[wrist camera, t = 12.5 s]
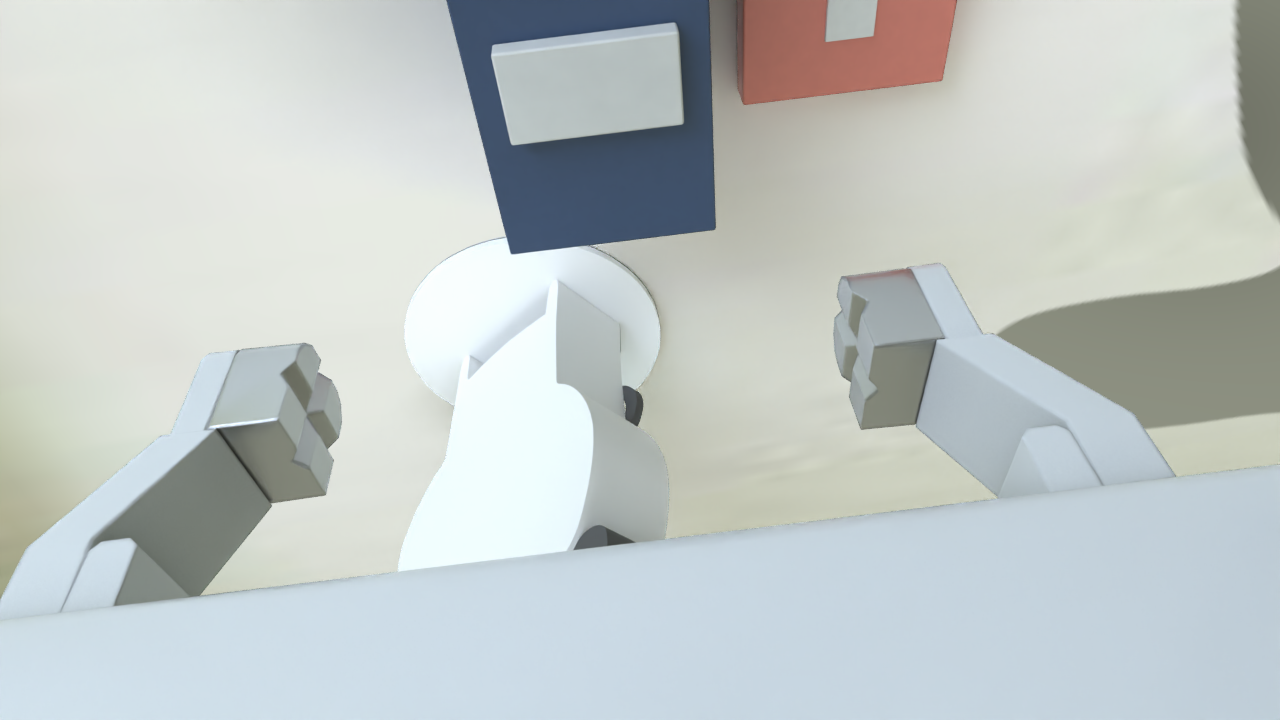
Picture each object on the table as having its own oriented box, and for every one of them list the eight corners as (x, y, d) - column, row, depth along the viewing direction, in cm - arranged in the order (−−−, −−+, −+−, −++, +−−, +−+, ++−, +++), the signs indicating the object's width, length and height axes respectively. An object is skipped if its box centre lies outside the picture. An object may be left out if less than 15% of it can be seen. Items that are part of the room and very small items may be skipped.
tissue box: (446, -215, 22) (408, -126, 16) (664, -242, 22) (708, -164, 16) (517, 119, 29) (510, 268, 23) (683, 99, 29) (719, 242, 23)
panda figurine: (538, 457, 43) (535, 756, 32) (345, 354, 37) (263, 683, 26) (710, 330, 37) (775, 640, 27) (519, 186, 31) (504, 513, 21)
